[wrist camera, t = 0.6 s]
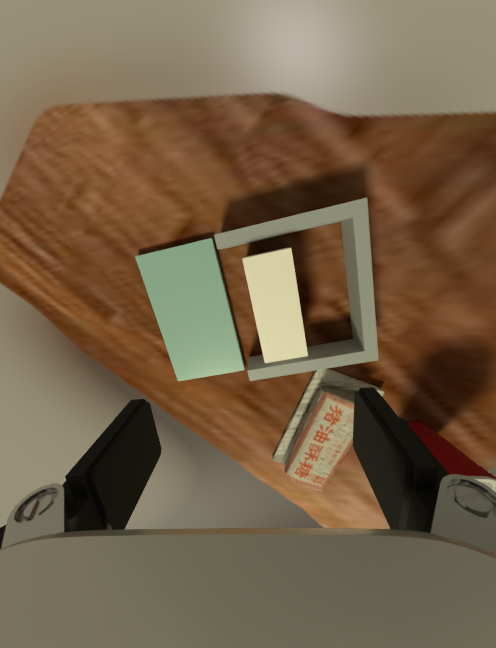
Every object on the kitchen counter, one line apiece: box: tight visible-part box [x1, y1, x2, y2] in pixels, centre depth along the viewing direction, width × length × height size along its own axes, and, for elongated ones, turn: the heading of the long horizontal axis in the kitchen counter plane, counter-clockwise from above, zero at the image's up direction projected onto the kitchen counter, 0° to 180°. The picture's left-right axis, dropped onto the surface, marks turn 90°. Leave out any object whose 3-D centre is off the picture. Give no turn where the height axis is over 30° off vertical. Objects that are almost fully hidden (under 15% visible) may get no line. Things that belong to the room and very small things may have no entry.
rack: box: [214, 198, 378, 381], centre depth 29 cm, size 16×18×4 cm
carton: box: [243, 248, 308, 363], centre depth 29 cm, size 5×12×6 cm, turn 12°
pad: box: [135, 238, 245, 381], centre depth 32 cm, size 10×18×1 cm, turn 13°
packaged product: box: [272, 369, 384, 491], centre depth 35 cm, size 18×5×10 cm
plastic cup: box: [407, 421, 496, 492], centre depth 31 cm, size 11×11×12 cm
